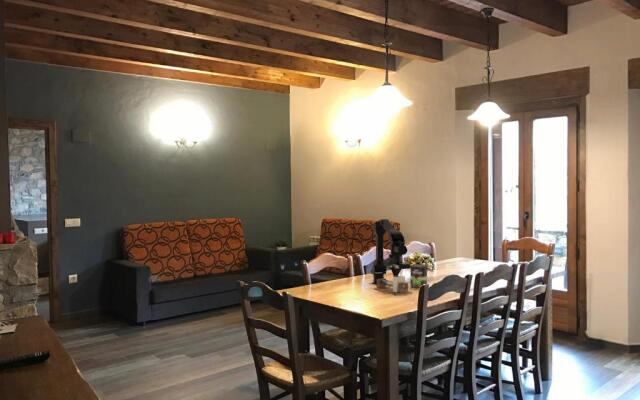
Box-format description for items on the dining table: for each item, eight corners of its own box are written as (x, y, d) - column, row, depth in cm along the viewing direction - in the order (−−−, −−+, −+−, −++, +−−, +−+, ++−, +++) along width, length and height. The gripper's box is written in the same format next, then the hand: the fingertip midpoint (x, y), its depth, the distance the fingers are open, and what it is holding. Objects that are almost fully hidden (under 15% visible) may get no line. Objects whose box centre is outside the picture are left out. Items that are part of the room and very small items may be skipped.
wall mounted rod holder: (373, 289, 323) (373, 279, 323) (385, 287, 329) (385, 277, 329) (399, 295, 306) (399, 285, 306) (411, 293, 312) (411, 282, 312)
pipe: (374, 288, 323) (374, 279, 322) (386, 286, 328) (386, 277, 328) (398, 294, 307) (398, 284, 307) (410, 291, 313) (410, 282, 313)
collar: (393, 291, 312) (393, 276, 312) (401, 289, 317) (401, 275, 316) (396, 292, 310) (396, 277, 310) (405, 290, 314) (405, 276, 314)
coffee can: (424, 290, 319) (424, 267, 319) (408, 289, 324) (408, 266, 324) (429, 287, 328) (429, 264, 328) (413, 286, 333) (413, 263, 333)
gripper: (374, 252, 317) (374, 278, 318) (397, 255, 302) (397, 283, 303) (388, 250, 324) (387, 276, 325) (410, 254, 309) (410, 280, 310)
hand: (395, 279), depth 315 cm, fingers closed
